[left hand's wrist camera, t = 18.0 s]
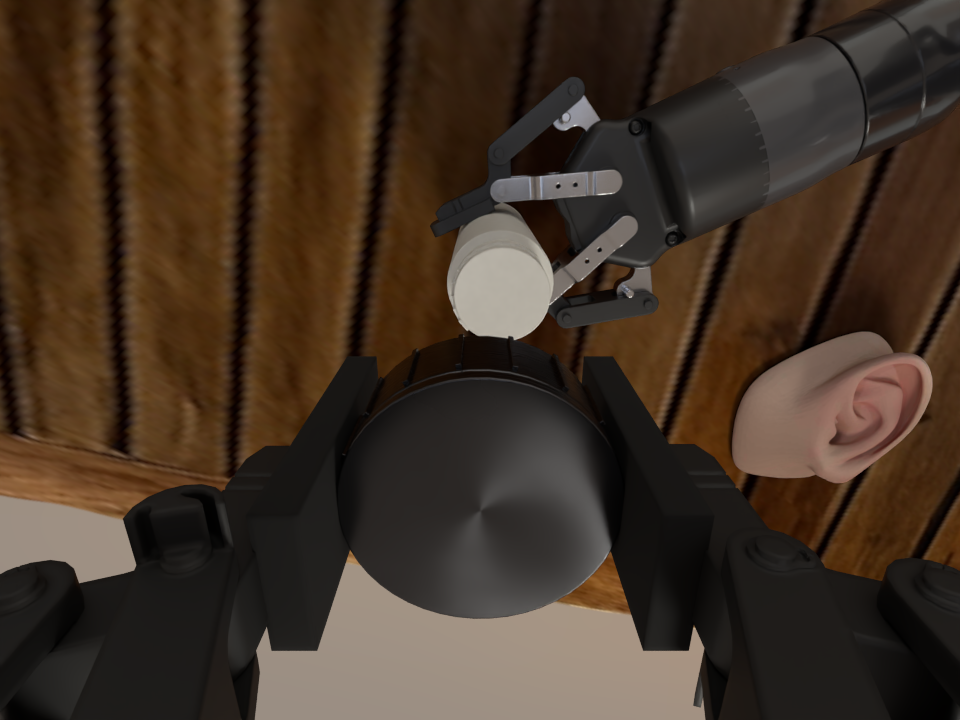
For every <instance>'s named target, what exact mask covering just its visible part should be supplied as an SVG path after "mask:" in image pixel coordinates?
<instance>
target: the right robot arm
mask: <svg viewBox="0 0 960 720" xmlns="http://www.w3.org/2000/svg"><path fill="white" fill-rule="evenodd" d="M584 93H585V86H584V83H583V81H582V80H581V79H579V78H577V77H570V78H568V79H567V80H565V81H564V82H563V83H562V84H561V85H559V86H558V87H557V88H556V89H555V90H554V91H552V92H551V93H550V94H549V95H548V96H547V97H545V98H544V99H543V100H542V101H541V102H540V103H538V104H537V105H536V106H535V107H534V108H533V109H532V110H530V111H529V112H528V113H527V114H526V115H525V116H523V117H522V118H521V119H520V120H519V121H518V122H516V123H515V124H514V125H513V126H512V127H511V128H509V129H508V130H507V131H506V132H505V133H504V134H502V135H501V136H500V137H499V138H498V139H497V140H496V141H494V142H493V143H492V144H491V145H490V146H489V148H488V150H487V157H488V178H487V180H486V182H485V183H484V184H483V185H481V186H480V187H477V188H475V189H473V190H471V191H469V192H467V193H465V194H463V195H461V196H459V197H456V198H454V199H452V200H450V201H448V202H446V203H444V204H443V205H442V206H441V207H440V208H439V209H438V210H437V212H436V215H437V217H438V220H436V221H434V222H433V223H432V224H431V225H430V227H431V229H432V231H433V233H434V236H435V237H438V236H441V235H443V234H445V233H447V232H449V231H452V230H454V229H456V228H458V227H460V226H462V225H464V224H467V223H469V222H471V221H473V220H475V219H477V218H479V217H481V216H484V215H486V214H488V213H490V212H492V211H494V210H495V207H494V206H495V205H498V204H500V203H503V202H514V201H525V200H546V199H553V202H554V205H555V207H556V209H557V210H558V212H559V213H560V214H561V216H562V217H563V218H564V221H565V230H566V235H567V238H568V240H569V243H570V245H569V246H568V247H566V248H565V249H564V250H563V251H562V252H561V253H560V254H559V255H558V256H557V258H556V260H555V261H554V262H553V263H552V264H551V267H552V271H553V280H554V285H553V292H552V297H551V299H550V304H549V308H548V310H547V311H548V312H549V313H550V314H551V315H552V316H553V317H554V318H555V320H556V321H557V323H558V325H559V326H561V327H562V328H571V327H577V326H583V325H589V324H595V323H600V322H606V321H612V320H618V319H624V318H630V317H636V316H642V315H647V314H651V313H653V312H655V311H656V309H657V308H658V304H659V303H658V299H657V298H656V297H655V296H654V295H653V293H652V283H651V268H650V266H651V265H653V264H654V263H655V262H656V261H657V260H658V259H659V257H660V256H661V255H662V254H663V253H664V252H666V251H667V250H668V249H670V248H672V247H674V246H677V245H679V244H682V243H684V242H687V241H689V240H691V239H693V238H696V237H698V236H700V235H703V234H705V233H707V232H709V231H712V230H714V229H716V228H719V227H721V226H723V225H726V224H728V223H730V222H732V221H735V220H737V219H739V218H742V217H744V216H746V215H749V214H751V213H753V212H756V211H758V210H760V209H762V208H765V207H767V206H769V205H772V204H774V203H776V202H779V201H781V200H783V199H785V198H788V197H790V196H792V195H795V194H797V193H799V192H801V191H803V190H805V189H807V188H809V187H811V186H813V185H814V184H816V183H818V182H820V181H821V180H823V179H824V178H826V177H828V176H830V175H831V174H833V173H835V172H837V171H839V170H841V169H843V168H845V167H847V166H849V165H851V164H854V163H856V162H858V161H861V160H863V159H865V158H867V157H870V156H872V155H874V154H877V153H879V152H881V151H884V150H886V149H888V148H890V147H893V146H895V145H898V144H900V143H902V142H905V141H907V140H909V139H911V138H913V137H916V136H918V135H920V134H922V133H923V132H925V131H927V130H929V129H931V128H932V127H934V126H935V125H937V124H939V123H940V122H941V121H943V120H944V119H945V118H947V117H948V116H949V115H950V114H951V113H952V112H953V111H954V109H955V108H956V107H957V106H958V105H959V103H960V0H882V1H881V2H879V3H877V4H875V5H873V6H871V7H869V8H867V9H864V10H862V11H860V12H858V13H857V14H854V15H852V16H850V17H848V18H846V19H844V20H842V21H840V22H837V23H835V24H833V25H831V26H829V27H827V28H825V29H823V30H821V31H819V32H816V33H814V34H812V35H810V36H808V37H806V38H803V39H801V40H799V41H796V42H794V43H791V44H788V45H785V46H782V47H779V48H775V49H772V50H769V51H767V52H764V53H761V54H759V55H757V56H754V57H752V58H750V59H748V60H746V61H744V62H741V63H739V64H737V65H733V66H729V67H726V68H724V69H723V70H721V71H719V72H718V73H717V74H716V75H714V76H712V77H710V78H708V79H706V80H704V81H702V82H700V83H698V84H696V85H693V86H691V87H689V88H687V89H685V90H683V91H681V92H679V93H677V94H675V95H673V96H670V97H668V98H666V99H664V100H662V101H660V102H658V103H656V104H654V105H652V106H649V107H647V108H645V109H643V110H641V111H639V112H637V113H635V114H633V115H631V116H629V117H626V118H624V119H621V120H611V119H603V120H600V118H599V117H598V115H597V114H596V112H595V111H594V109H593V108H592V106H591V105H590V103H589V102H588V100H587V99H586V97H585V96H584ZM550 125H552V126H553V128H554V129H556V130H558V131H565V130H568V129H570V128H571V127H578V128H580V129H581V130H582V131H583V133H582V135H581V136H580V138H579V140H578V141H577V143H576V145H575V147H574V148H573V150H572V152H571V153H570V155H569V157H568V159H567V160H566V162H565V164H564V165H563V167H562V169H561V171H557V172H547V173H536V174H529V175H519V176H511V162H510V159H511V158H512V157H514V156H515V155H516V154H517V153H518V152H519V151H521V150H522V149H523V148H524V147H525V146H527V145H528V144H529V143H530V142H531V141H532V140H534V139H535V138H536V137H537V136H538V135H540V134H541V133H542V132H543V131H544V130H546V129H547V128H548V127H549V126H550ZM576 251H577V252H578V253H576ZM586 259H588V261H587V262H585V260H586ZM602 262H605V263H610V264H615V265H620V266H625V267H630V268H631V269H630V272H629V273H628V275H626V276H625V277H623V278H620V279H618V280H617V281H616V282H615V284H614V287H613V289H610V290H604V291H598V292H593V293H587V294H581V295H575V296H570V297H564V296H563V295H562V294H563V293H564V292H565V291H567V290H568V289H569V288H570V287H571V286H572V285H573V284H575V283H578V282H580V281H581V280H583V279H584V278H585V277H586V276H587V275H588V274H589V273H590V272H592V271H593V270H594V269H595V268H596V267H597V266H598V265H599V264H600V263H602Z"/></svg>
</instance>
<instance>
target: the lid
mask: <svg viewBox="0 0 960 720" xmlns="http://www.w3.org/2000/svg"><path fill="white" fill-rule="evenodd" d="M604 425H606V424H605V422H604V420H603V417H602V415H601V413H600V411H599V409H598V406H597V404H596V402H595V400H594V398H593V395H592V393H591V391H590V389H589V387H588V386H587V385H585V386H583V385H582V384H581V382H580V381H579V380H578V378H577V377H576V376H575V375H574V374H573V373H572V372H571V371H570V370H569V369H568V368H567V367H566V366H565V365H564V364H562V363H561V362H559V359H558V356H557V355H555V354H553V355H552V356H551V355H549V354H547V353H546V352H544V351H542V350H540V349H538V348H536V347H534V346H531V345H528V344H526V343H523V342H520V341H516V340H514V338H513V337H512V336H508V338H502V337H494V336H467V337H464V334H460V335H459V337H458V338H453V339H449V340H446V341H442V342H438V343H435V344H433V345H430V346H428V347H426V348H423V349H421V350H419V351H418V349H415V350H413V352H412V355H411V356H409V357H407V358H406V359H405V360H403V361H402V362H401V363H399V364H398V365H397V366H395V367H394V368H393V369H392V370H391V371H390V372H389V373H388V374H387V375H386V376H385V377H384V379H383V378H382V377H380V378H379V379H378V381H377V383H376V386H375V388H374V390H373V393H372V395H371V397H370V399H369V402H368V404H367V406H366V408H365V411H364V413H363V415H361V414H360V416H359V418H358V420H357V422H356V424H355V427H354V429H353V431H352V433H351V435H350V438H349V440H348V442H347V444H346V446H345V449H344V451H343V453H342V456H341V459H344V460H343V463H342V465H341V468H340V471H339V477H338V482H337V491H336V496H337V508H338V516H339V523H340V526H341V530H342V533H343V536H344V538H345V540H346V542H347V544H348V547H349V549H350V550H351V552H352V553H353V555H354V556H355V558H356V560H357V561H358V562H359V564H360V565H361V566H362V567H363V568H364V569H365V571H366V572H367V573H368V574H369V575H370V576H371V577H372V578H373V579H374V580H376V581H377V582H378V583H379V584H380V585H381V586H383V587H384V588H385V589H387V590H388V591H390V592H391V593H392V594H394V595H396V596H398V597H399V598H401V599H403V600H405V601H407V602H408V603H411V604H413V605H416V606H418V607H420V608H423V609H426V610H429V611H433V612H436V613H439V614H444V615H449V616H454V617H462V618H473V619H478V618H499V617H508V616H513V615H518V614H522V613H526V612H529V611H532V610H536V609H539V608H541V607H544V606H546V605H548V604H551V603H553V602H555V601H557V600H559V599H560V598H562V597H564V596H566V595H567V594H569V593H571V592H572V591H573V590H575V589H576V588H577V587H579V586H580V585H581V584H583V583H584V582H585V581H586V580H587V579H588V578H589V577H590V576H591V575H592V574H593V573H594V572H595V571H596V570H597V569H598V568H599V566H600V565H601V564H602V563H603V562H604V560H605V559H606V557H607V556H608V554H609V552H610V551H611V549H612V548H613V546H614V543H615V541H616V539H617V537H618V534H619V532H620V528H621V520H622V512H623V504H624V494H625V483H624V479H623V474H622V469H621V466H620V463H619V461H618V458H617V456H616V453H615V451H614V449H613V446H612V444H611V442H610V440H609V437H608V435H607V433H606V431H605V429H604Z"/></svg>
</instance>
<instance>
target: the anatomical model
mask: <svg viewBox="0 0 960 720" xmlns="http://www.w3.org/2000/svg"><path fill="white" fill-rule="evenodd" d="M931 392H932V376H931V372H930V369H929V367H928V365H927V363H926V362H925V361H924V360H923V359H922V358H921V357H919V356H917V355H914V354H910V353H893V351H892V349H891V347H890V346H889V344H888V343H887V342H886V341H885V340H884V339H883V338H882V337H881V336H879V335H877V334H875V333H872V332H857V333H852V334H848V335H844V336H841V337H838V338H835V339H832V340H829V341H827V342H824V343H822V344H819V345H817V346H814V347H812V348H810V349H807V350H805V351H803V352H801V353H799V354H797V355H794V356H792V357H790V358H788V359H786V360H785V361H783V362H781V363H779V364H777V365H776V366H774V367H772V368H770V369H769V370H768V371H766V372H765V373H763V374H762V375H761V376H759V377H758V378H757V379H756V380H755V381H754V382H753V383H752V384H751V385H750V387H749V388H748V390H747V391H746V393H745V394H744V396H743V398H742V400H741V403H740V405H739V408H738V411H737V414H736V418H735V423H734V429H733V437H732V456H733V460H734V463H735V465H736V466H737V467H738V468H739V469H740V470H742V471H744V472H747V473H750V474H754V475H760V476H768V477H777V478H801V477H809V476H812V475H815V474H816V475H818V476H820V477H822V478H824V479H826V480H828V481H830V482H834V483H843V482H846V481H849V480H850V479H852V478H853V477H855V476H856V475H858V474H859V473H860V472H862V471H863V470H864V469H866V468H867V467H868V466H870V465H871V464H872V463H874V462H875V461H876V460H878V459H879V458H880V457H881V456H883V455H884V454H885V453H887V452H888V451H889V450H891V449H892V448H893V447H894V446H896V445H897V444H898V443H899V442H900V441H901V440H903V439H904V438H905V437H906V436H907V435H908V434H909V433H910V431H911V430H912V429H913V428H914V427H915V425H916V424H917V423H918V421H919V420H920V418H921V416H922V414H923V413H924V411H925V409H926V407H927V404H928V402H929V399H930V396H931Z"/></svg>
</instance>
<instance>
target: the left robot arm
mask: <svg viewBox="0 0 960 720" xmlns="http://www.w3.org/2000/svg"><path fill="white" fill-rule="evenodd" d="M377 381H378V371H377V358H376V357H347V358H346V360H345V361H344V363H343V364H342V366H341V367H340V369H339V371H338V372H337V374H336V375H335V377H334V378H333V380H332V381H331V383H330V385H329V386H328V388H327V389H326V391H325V392H324V394H323V396H322V397H321V399H320V400H319V402H318V403H317V405H316V406H315V408H314V410H313V411H312V413H311V414H310V416H309V417H308V419H307V420H306V422H305V424H304V425H303V427H302V428H301V430H300V431H299V433H298V435H297V436H296V438H295V439H294V441H293V442H292V444H291V445H290V446H265V447H264V448H262V449H261V450H259V451H258V452H256V453H255V454H253V455H252V456H250V457H249V458H247V459H246V460H245V462H244V463H243V464H242V466H241V467H240V468H239V470H238V471H237V472H236V473H235V477H232V479H231V480H230V481H229V483H228V484H227V485H226V487H225V490H223V491H222V492H221V491H219V490H218V489H217V488H216V487H212V486H207V485H203V484H198V485H183V486H179V487H175V488H170V489H166V490H164V491H161V492H159V493H157V494H154V495H152V496H149V497H147V498H146V499H144V500H143V501H141V502H140V503H138V504H137V505H135V506H134V507H132V509H131V510H130V511H129V512H128V513H127V514H126V516H125V517H124V518H123V521H124V524H125V528H126V531H127V534H128V538H129V541H130V545H131V548H132V551H133V555H134V558H135V561H136V568H135V570H134V571H131V572H128V573H124V574H120V575H116V576H111V577H106V578H102V579H97V580H93V581H88V582H83V583H79V582H78V579H77V576H76V573H75V570H74V568H72V567H71V566H70V565H69V564H67V563H66V562H61V561H54V560H47V561H41V562H33V563H29V564H25V565H22V566H20V567H15V568H13V569H10V570H7V571H5V572H4V573H2V574H0V720H255V711H256V702H257V693H258V684H259V675H260V671H259V664H258V658H257V653H256V649H257V647H258V645H259V643H260V640H261V638H262V636H263V634H264V631H265V629H266V627H267V629H268V634H269V639H270V645H271V650H272V651H317V649H318V646H319V643H320V640H321V637H322V634H323V631H324V628H325V625H326V622H327V619H328V616H329V612H330V610H331V606H332V603H333V600H334V597H335V594H336V591H337V588H338V585H339V582H340V579H341V576H342V572H343V569H344V566H345V563H346V560H347V557H348V554H349V551H350V549H349V547H348V544H347V542H346V540H345V538H344V536H343V533H342V530H341V526H340V523H339V516H338V508H337V496H336V491H337V482H338V477H339V471H340V468H341V465H342V463H343V460H344V459H341V456H342V453H343V451H344V449H345V446H346V444H347V442H348V440H349V438H350V435H351V433H352V431H353V429H354V427H355V424H356V422H357V420H358V418H359V416H360V414H361V415H363V413H364V411H365V408H366V406H367V404H368V402H369V399H370V397H371V395H372V393H373V390H374V388H375V386H376V383H377ZM582 385H583V386H585V385H587V386H588V387H589V389H590V391H591V393H592V395H593V398H594V400H595V402H596V404H597V406H598V409H599V411H600V413H601V415H602V417H603V420H604V422H605V424H606V425H604V429H605V431H606V433H607V435H608V437H609V440H610V442H611V444H612V446H613V449H614V451H615V453H616V456H617V458H618V461H619V463H620V466H621V469H622V474H623V479H624V483H625V494H624V504H623V512H622V520H621V528H620V532H619V534H618V537H617V539H616V541H615V543H614V546H613V548H612V549H611V553H612V556H613V559H614V562H615V565H616V569H617V572H618V575H619V578H620V581H621V584H622V587H623V590H624V593H625V596H626V599H627V602H628V605H629V608H630V612H631V615H632V618H633V621H634V624H635V627H636V630H637V633H638V636H639V639H640V642H641V645H642V648H643V651H688V650H689V646H690V641H691V636H692V631H693V626H695V628H696V630H697V632H698V634H699V637H700V639H701V641H702V644H703V646H704V653H703V658H702V663H701V668H700V672H699V677H698V682H697V687H696V692H695V698H694V706H697V707H701V703H702V699H703V700H704V710H705V719H706V720H960V571H958V570H957V569H955V568H952V567H950V566H947V565H943V564H941V563H937V562H934V561H930V560H923V559H916V558H905V559H898V560H895V561H894V562H892V563H891V564H890V565H889V566H887V569H886V572H885V575H884V577H883V580H882V581H878V580H874V579H869V578H865V577H860V576H855V575H851V574H846V573H842V572H837V571H834V570H830V569H827V568H825V567H824V564H823V563H822V562H821V560H820V559H819V557H818V556H817V555H816V553H815V552H814V551H812V550H811V549H810V548H809V547H807V546H806V545H805V544H803V543H802V542H801V541H799V540H797V539H795V538H793V537H791V536H789V535H786V534H784V533H782V532H778V531H774V530H771V529H768V527H767V526H766V525H765V523H764V522H763V521H762V519H761V518H760V517H759V515H758V514H757V513H756V511H755V510H754V509H753V508H752V506H751V505H750V504H749V502H748V501H747V500H746V498H745V497H744V496H743V494H742V493H741V492H740V490H739V489H738V488H735V484H734V483H733V481H732V480H731V479H730V477H729V476H728V475H726V472H725V471H724V469H723V468H722V467H721V465H720V464H719V463H718V462H717V460H716V459H715V458H714V457H713V456H712V455H710V454H709V453H707V452H706V451H704V450H703V449H701V448H700V447H698V446H697V445H695V444H669V443H668V442H667V440H666V439H665V437H664V436H663V434H662V432H661V431H660V429H659V428H658V426H657V425H656V423H655V421H654V420H653V418H652V417H651V415H650V414H649V412H648V411H647V409H646V407H645V406H644V404H643V403H642V401H641V400H640V398H639V397H638V395H637V393H636V392H635V390H634V389H633V387H632V386H631V384H630V383H629V381H628V379H627V378H626V376H625V375H624V373H623V372H622V370H621V368H620V367H619V365H618V364H617V362H616V361H615V359H614V358H613V357H584V362H583V376H582Z"/></svg>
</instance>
